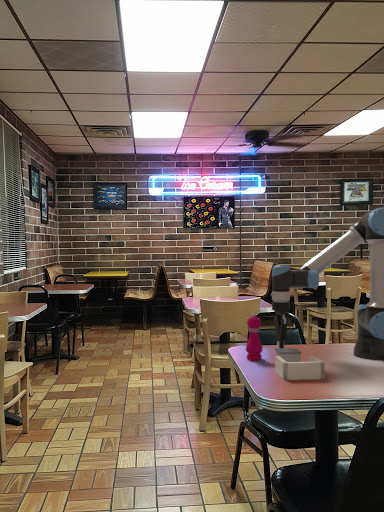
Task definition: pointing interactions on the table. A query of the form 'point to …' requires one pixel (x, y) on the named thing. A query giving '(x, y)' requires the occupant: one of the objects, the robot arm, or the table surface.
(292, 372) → the bay
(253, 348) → the pepper mill
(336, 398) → the table surface
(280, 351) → the rounded grey cube
